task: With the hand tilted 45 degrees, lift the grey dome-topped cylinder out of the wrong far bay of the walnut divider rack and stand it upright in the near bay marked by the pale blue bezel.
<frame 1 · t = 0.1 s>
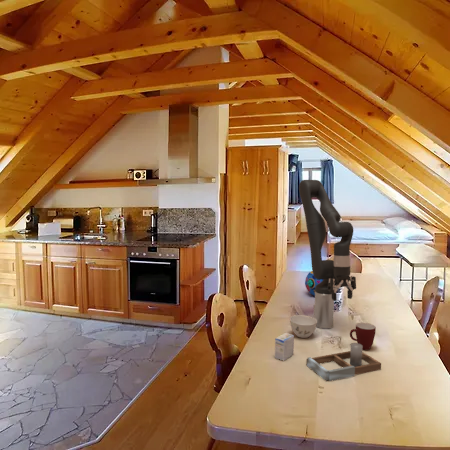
hand: (342, 299, 179), 17 cm above the table, tool pointing down, fingers open, 8 cm apart
mug: (361, 348, 167), on the table
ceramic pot: (318, 295, 245), on the table
medicine box: (284, 357, 158), on the table
divider rack: (343, 367, 149), on the table
teacup: (303, 335, 181), on the table
grey dome-topped cylinder: (355, 364, 152), resting in divider rack
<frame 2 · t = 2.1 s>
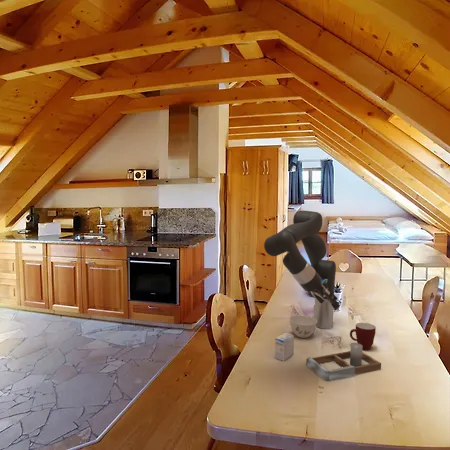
hand: (330, 304, 143), 26 cm above the table, tool tilted 40°, fingers open, 8 cm apart
nothing on the table moved.
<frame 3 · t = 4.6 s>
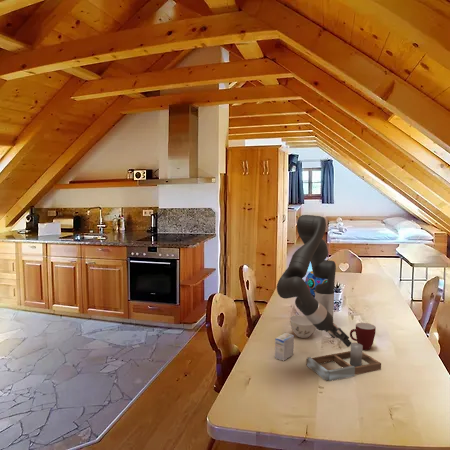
hand: (342, 340, 148), 11 cm above the table, tool tilted 45°, fingers open, 8 cm apart
nothing on the table moved.
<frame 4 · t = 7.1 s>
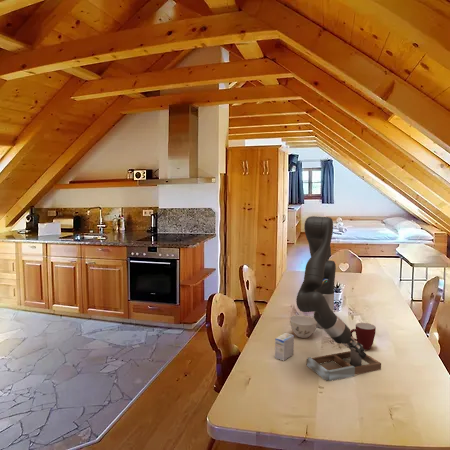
hand: (360, 353, 152), 4 cm above the table, tool tilted 45°, fingers closed on grey dome-topped cylinder, 4 cm apart
grey dome-topped cylinder: (355, 364, 152), resting in divider rack, touching gripper
everything else where it was.
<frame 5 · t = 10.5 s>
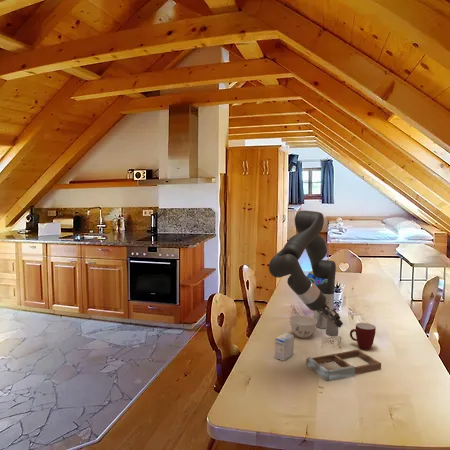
hand: (336, 323, 146), 18 cm above the table, tool tilted 45°, fingers closed on grey dome-topped cylinder, 4 cm apart
grey dome-topped cylinder: (331, 334, 146), point 14 cm above the table, touching gripper
everything else where it was.
when the fingers open (5 cm above the table, at t = 13.9 s): grey dome-topped cylinder drops 1 cm, resting in divider rack.
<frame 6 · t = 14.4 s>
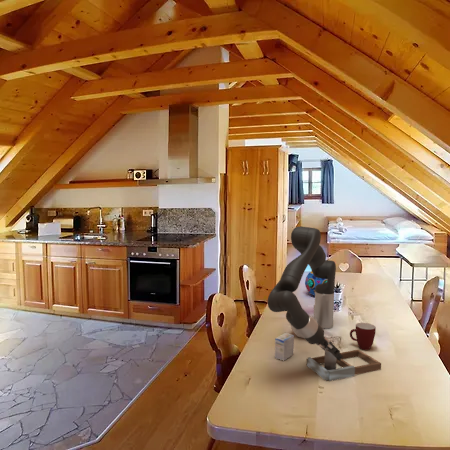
hand: (333, 353, 147), 6 cm above the table, tool tilted 45°, fingers open, 8 cm apart
grey dome-topped cylinder: (330, 369, 147), resting in divider rack
everything else where it was.
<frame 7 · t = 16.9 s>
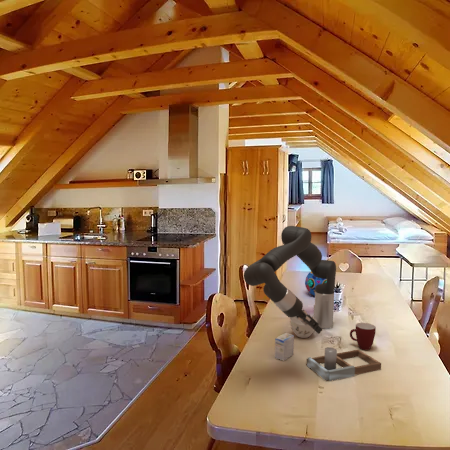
hand: (313, 327, 146), 17 cm above the table, tool tilted 45°, fingers open, 8 cm apart
nothing on the table moved.
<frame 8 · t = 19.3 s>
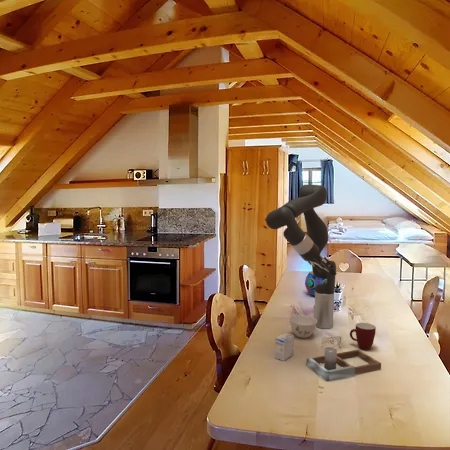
hand: (328, 272, 157), 35 cm above the table, tool tilted 45°, fingers open, 8 cm apart
nothing on the table moved.
at the end: grey dome-topped cylinder 0.1 cm from the target spot, resting in divider rack; grey dome-topped cylinder tilted 0°; the gripper is holding nothing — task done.
